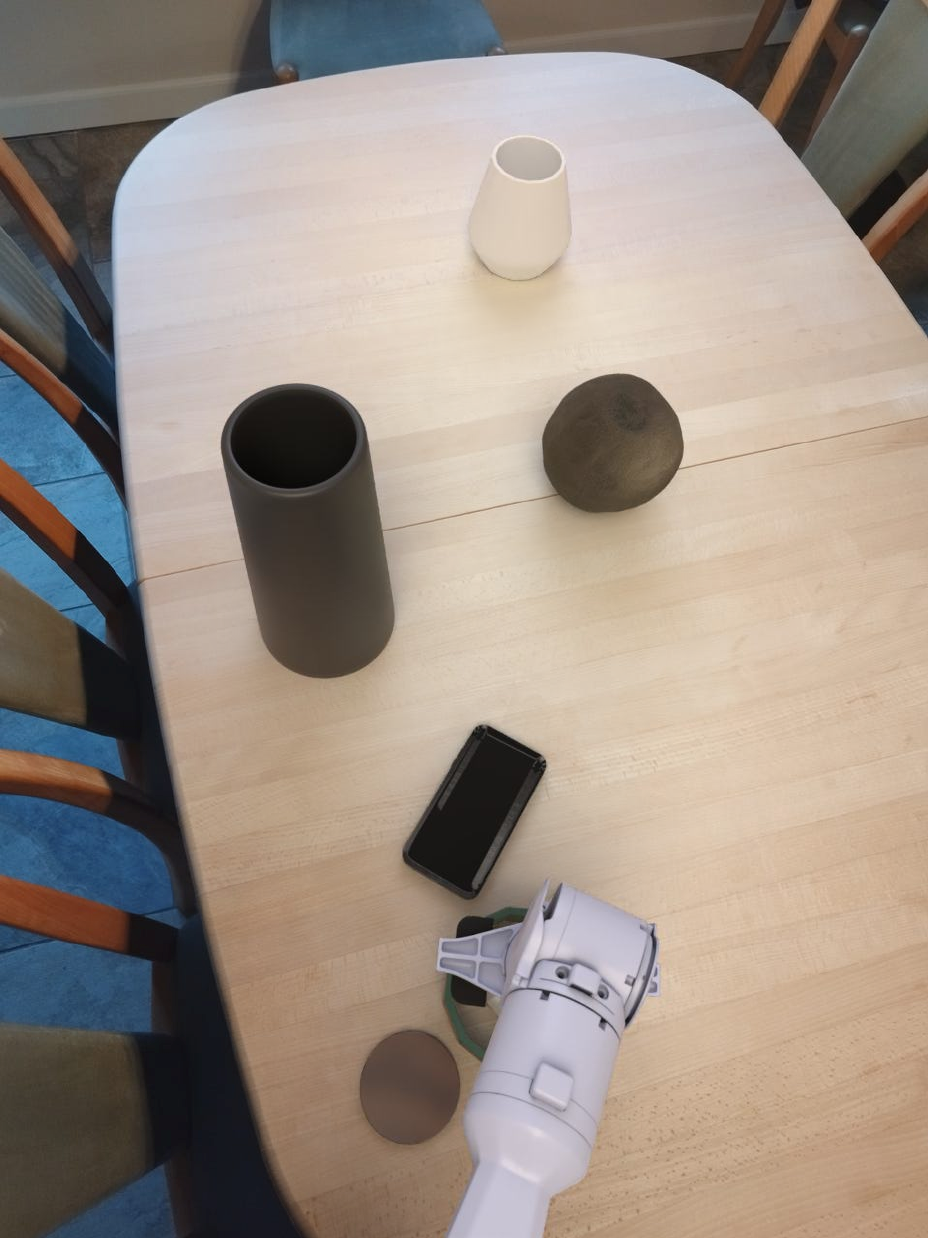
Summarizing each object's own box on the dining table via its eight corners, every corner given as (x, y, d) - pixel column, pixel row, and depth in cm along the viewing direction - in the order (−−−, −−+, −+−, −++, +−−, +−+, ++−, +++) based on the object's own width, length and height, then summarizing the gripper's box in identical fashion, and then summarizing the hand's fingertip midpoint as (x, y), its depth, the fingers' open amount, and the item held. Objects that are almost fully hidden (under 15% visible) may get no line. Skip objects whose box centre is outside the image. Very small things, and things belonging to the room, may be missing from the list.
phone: (550, 760, 82) (473, 903, 75) (549, 763, 83) (472, 905, 76) (478, 719, 83) (396, 856, 77) (477, 723, 84) (396, 859, 78)
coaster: (453, 1149, 68) (454, 1150, 68) (352, 1137, 68) (352, 1138, 68) (464, 1037, 72) (464, 1037, 71) (368, 1026, 72) (368, 1026, 71)
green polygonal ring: (584, 1080, 71) (594, 1082, 67) (436, 1063, 71) (437, 1063, 67) (589, 924, 76) (599, 917, 72) (452, 908, 76) (455, 900, 72)
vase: (416, 646, 88) (419, 475, 62) (289, 700, 84) (235, 543, 58) (362, 542, 93) (344, 344, 67) (240, 588, 90) (172, 398, 64)
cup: (490, 208, 118) (499, 108, 106) (581, 241, 116) (602, 143, 104) (448, 269, 112) (453, 171, 100) (543, 305, 110) (560, 210, 98)
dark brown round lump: (548, 548, 94) (571, 464, 80) (523, 444, 100) (541, 350, 87) (672, 535, 96) (715, 450, 82) (641, 434, 102) (676, 340, 88)
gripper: (678, 908, 54) (632, 927, 66) (445, 881, 54) (442, 905, 66) (678, 1034, 51) (629, 1029, 63) (432, 1005, 51) (431, 1005, 63)
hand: (533, 972), depth 64 cm, fingers open, 7 cm apart
